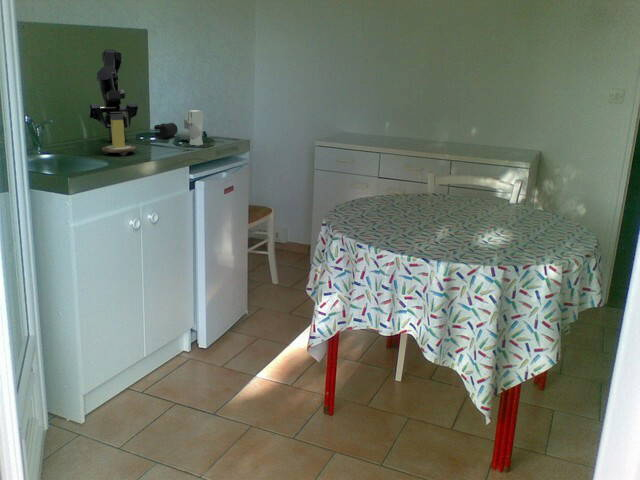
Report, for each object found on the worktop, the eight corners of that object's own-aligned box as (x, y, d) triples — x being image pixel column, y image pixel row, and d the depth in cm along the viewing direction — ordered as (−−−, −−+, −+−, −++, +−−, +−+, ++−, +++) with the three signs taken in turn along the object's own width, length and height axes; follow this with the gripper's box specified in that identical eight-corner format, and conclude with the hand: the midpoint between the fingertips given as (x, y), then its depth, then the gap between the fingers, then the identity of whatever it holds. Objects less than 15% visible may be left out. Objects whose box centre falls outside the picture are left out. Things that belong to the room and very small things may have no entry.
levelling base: (95, 154, 257) (94, 147, 256) (117, 150, 268) (117, 143, 267) (120, 157, 252) (120, 150, 251) (142, 152, 263) (142, 146, 262)
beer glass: (189, 143, 288) (187, 109, 284) (204, 143, 289) (203, 110, 284) (187, 146, 282) (185, 111, 277) (203, 146, 282) (202, 111, 278)
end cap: (168, 140, 298) (167, 125, 296) (154, 139, 300) (153, 124, 298) (178, 137, 307) (177, 122, 305) (164, 136, 309) (164, 122, 307)
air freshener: (188, 143, 290) (187, 120, 287) (176, 141, 295) (175, 119, 292) (206, 140, 298) (205, 118, 295) (194, 138, 303) (193, 117, 300)
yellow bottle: (112, 146, 260) (110, 114, 256) (122, 145, 262) (120, 113, 258) (115, 147, 257) (112, 115, 253) (125, 147, 259) (122, 114, 255)
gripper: (87, 83, 250) (95, 114, 245) (135, 82, 259) (144, 112, 254) (85, 101, 259) (93, 132, 253) (131, 100, 268) (140, 130, 263)
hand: (118, 126), depth 256 cm, fingers open, 9 cm apart
